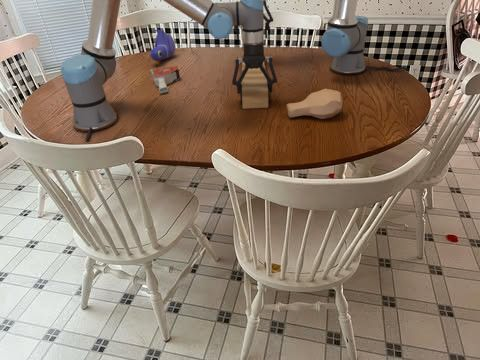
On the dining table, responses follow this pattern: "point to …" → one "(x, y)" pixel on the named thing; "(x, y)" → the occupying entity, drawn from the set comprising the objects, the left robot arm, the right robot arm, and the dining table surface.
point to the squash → (317, 105)
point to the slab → (254, 88)
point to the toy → (162, 46)
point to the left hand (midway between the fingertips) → (255, 100)
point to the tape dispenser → (164, 77)
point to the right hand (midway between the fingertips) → (252, 38)
